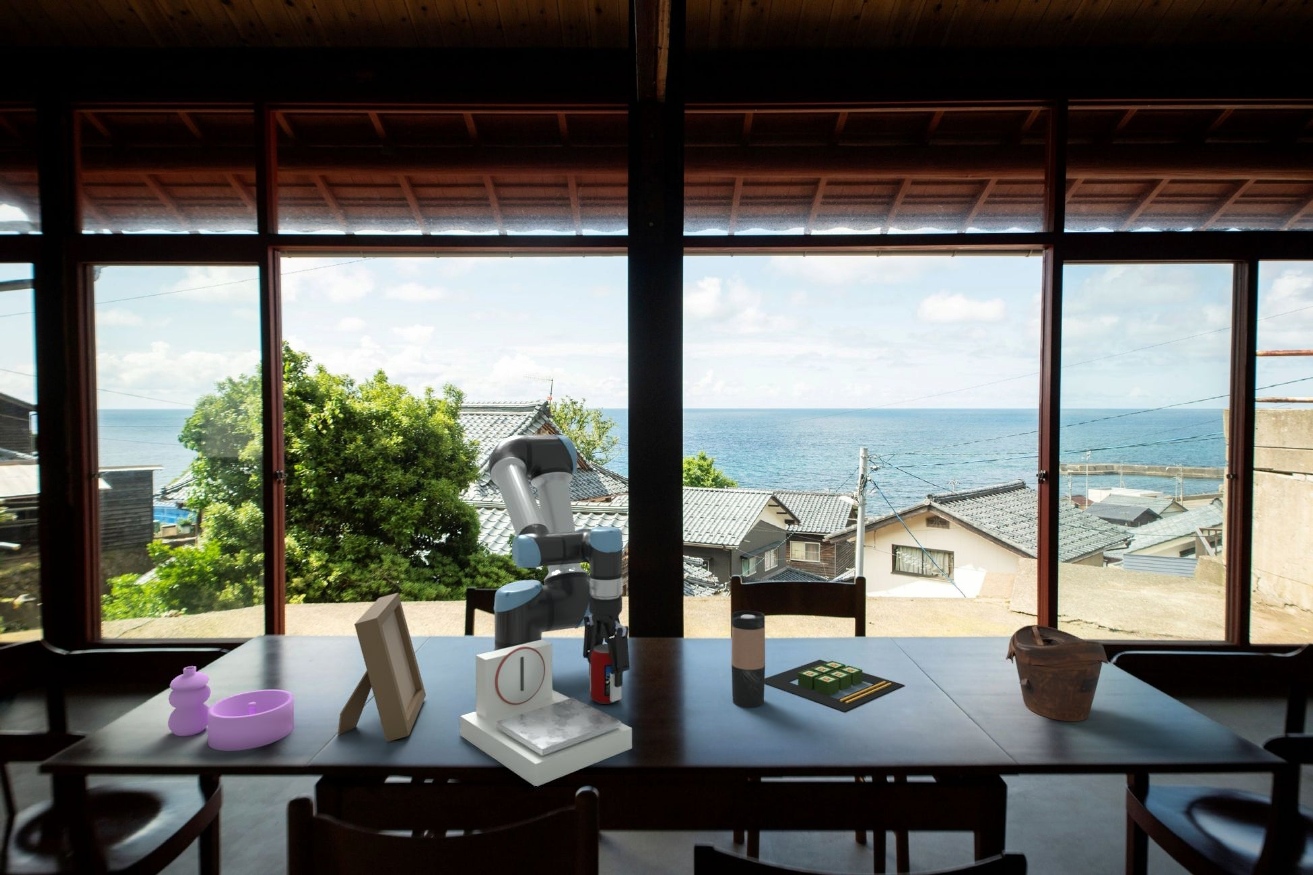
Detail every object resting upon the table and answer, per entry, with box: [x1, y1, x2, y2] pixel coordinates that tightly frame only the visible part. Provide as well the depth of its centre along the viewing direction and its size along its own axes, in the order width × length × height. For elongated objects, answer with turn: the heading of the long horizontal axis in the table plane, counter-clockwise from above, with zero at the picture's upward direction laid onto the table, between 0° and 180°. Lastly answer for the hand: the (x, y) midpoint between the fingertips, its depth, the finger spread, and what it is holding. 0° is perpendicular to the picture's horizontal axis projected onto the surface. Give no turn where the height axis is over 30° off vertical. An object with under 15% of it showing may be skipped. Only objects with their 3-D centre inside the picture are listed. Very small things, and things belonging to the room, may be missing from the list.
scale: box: [459, 639, 633, 787], centre depth 141 cm, size 28×22×17 cm
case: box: [1005, 624, 1109, 722], centre depth 157 cm, size 18×20×18 cm
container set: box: [167, 665, 295, 752], centre depth 145 cm, size 25×15×13 cm, turn 84°
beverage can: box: [590, 643, 618, 705], centre depth 162 cm, size 7×7×12 cm
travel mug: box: [731, 610, 766, 709], centre depth 161 cm, size 8×8×20 cm
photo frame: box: [337, 592, 427, 743], centre depth 151 cm, size 15×22×25 cm
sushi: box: [765, 659, 905, 714], centre depth 173 cm, size 25×25×4 cm
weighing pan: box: [496, 697, 622, 756], centre depth 137 cm, size 16×18×1 cm
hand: (605, 694), depth 162 cm, fingers closed on beverage can, 7 cm apart
